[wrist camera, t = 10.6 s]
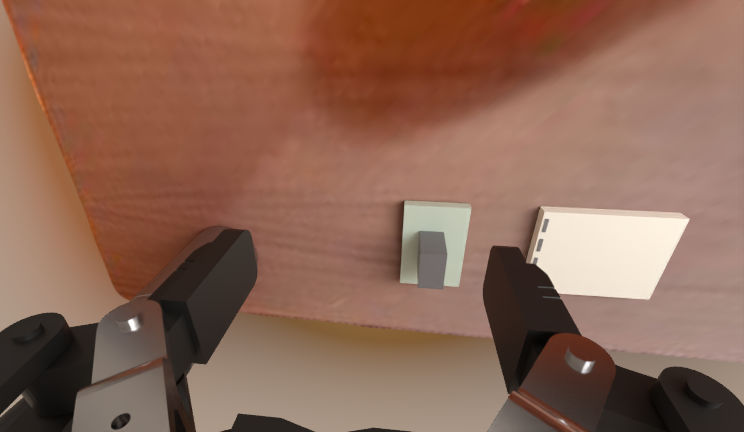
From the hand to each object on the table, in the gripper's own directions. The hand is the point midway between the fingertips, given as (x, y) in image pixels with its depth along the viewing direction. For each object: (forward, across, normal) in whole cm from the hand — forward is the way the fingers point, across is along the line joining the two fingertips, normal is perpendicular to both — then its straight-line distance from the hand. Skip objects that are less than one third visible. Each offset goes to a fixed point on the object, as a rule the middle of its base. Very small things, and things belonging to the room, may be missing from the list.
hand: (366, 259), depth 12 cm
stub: (+30, -6, +18) cm, 35 cm away
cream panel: (+30, -26, +18) cm, 44 cm away
